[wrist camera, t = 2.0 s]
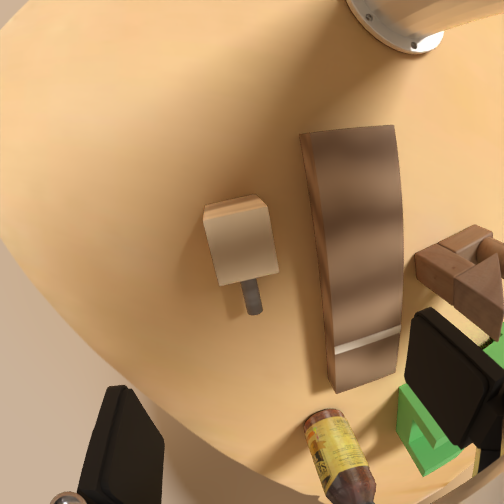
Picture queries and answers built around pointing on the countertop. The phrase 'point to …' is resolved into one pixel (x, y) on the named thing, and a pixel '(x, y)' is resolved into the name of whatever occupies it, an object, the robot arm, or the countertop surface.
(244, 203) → the block
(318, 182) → the walnut board
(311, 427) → the sauce bottle
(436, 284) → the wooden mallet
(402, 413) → the green cradle stand
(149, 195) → the countertop surface
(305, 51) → the countertop surface
